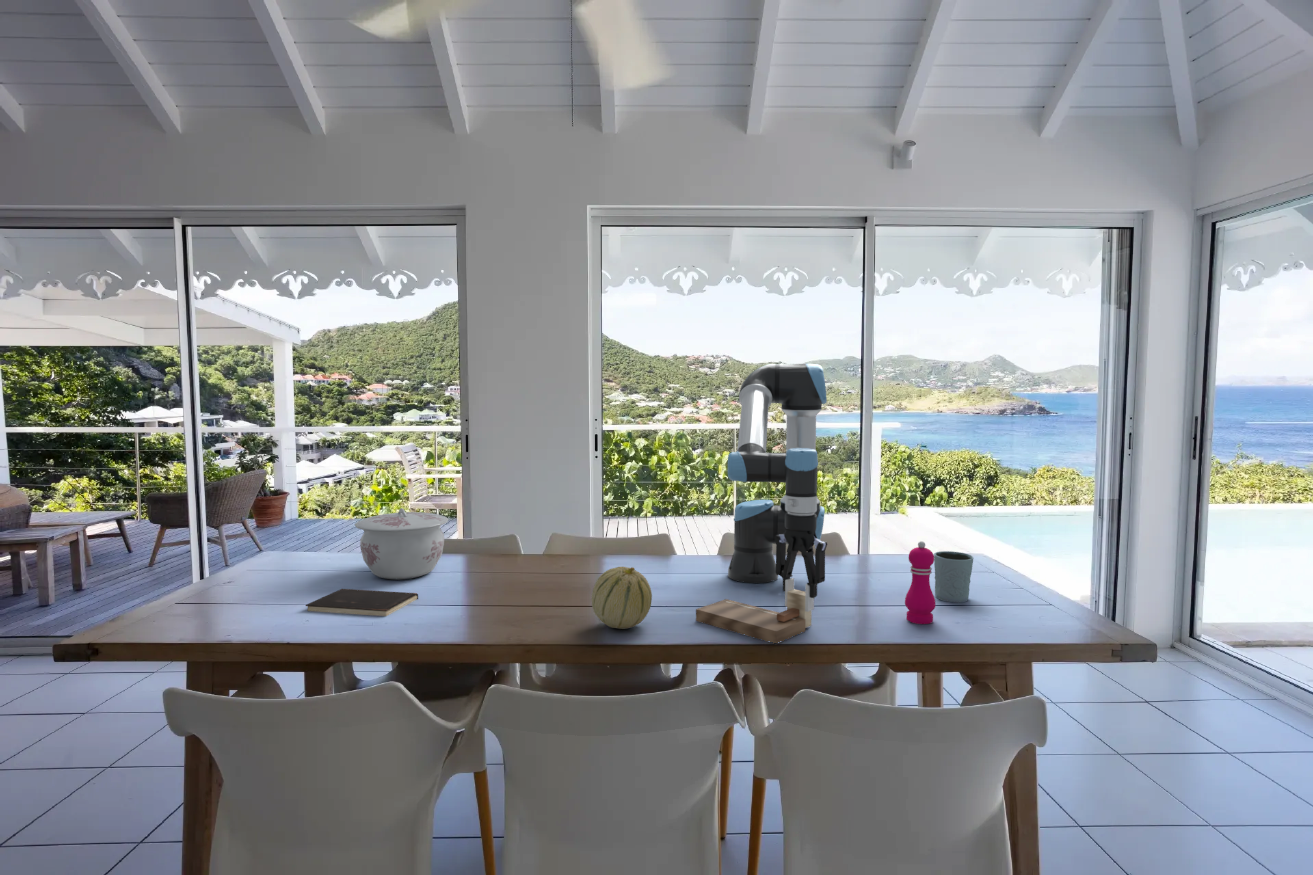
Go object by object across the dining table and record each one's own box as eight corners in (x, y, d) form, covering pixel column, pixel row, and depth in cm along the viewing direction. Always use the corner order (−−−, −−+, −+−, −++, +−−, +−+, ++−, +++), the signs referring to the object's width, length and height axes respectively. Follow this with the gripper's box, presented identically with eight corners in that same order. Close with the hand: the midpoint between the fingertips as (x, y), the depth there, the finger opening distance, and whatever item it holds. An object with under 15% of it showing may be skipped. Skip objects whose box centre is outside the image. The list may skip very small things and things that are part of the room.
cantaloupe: (597, 616, 189) (597, 558, 188) (654, 618, 188) (654, 559, 187) (585, 636, 175) (585, 573, 174) (648, 638, 173) (648, 574, 172)
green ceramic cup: (942, 590, 213) (943, 549, 212) (978, 598, 206) (979, 555, 205) (926, 597, 206) (927, 555, 205) (962, 605, 199) (964, 561, 198)
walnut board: (696, 620, 186) (696, 608, 186) (726, 610, 194) (726, 598, 194) (776, 644, 169) (776, 630, 169) (805, 631, 178) (805, 618, 178)
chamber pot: (411, 590, 213) (409, 518, 212) (335, 581, 223) (333, 512, 221) (468, 567, 240) (467, 503, 238) (398, 560, 249) (396, 498, 248)
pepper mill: (899, 616, 190) (901, 538, 188) (927, 615, 190) (929, 538, 189) (911, 625, 182) (913, 544, 181) (940, 624, 183) (942, 544, 182)
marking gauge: (771, 630, 177) (771, 597, 177) (797, 619, 185) (797, 587, 185) (789, 635, 174) (789, 601, 173) (814, 624, 182) (815, 591, 181)
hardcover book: (386, 618, 189) (386, 609, 189) (305, 613, 194) (305, 604, 194) (418, 600, 205) (418, 592, 205) (343, 596, 209) (343, 588, 209)
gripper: (760, 510, 183) (759, 603, 185) (825, 519, 170) (823, 619, 172) (778, 506, 188) (777, 597, 190) (842, 515, 176) (840, 612, 178)
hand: (799, 607), depth 181 cm, fingers closed on marking gauge, 5 cm apart
